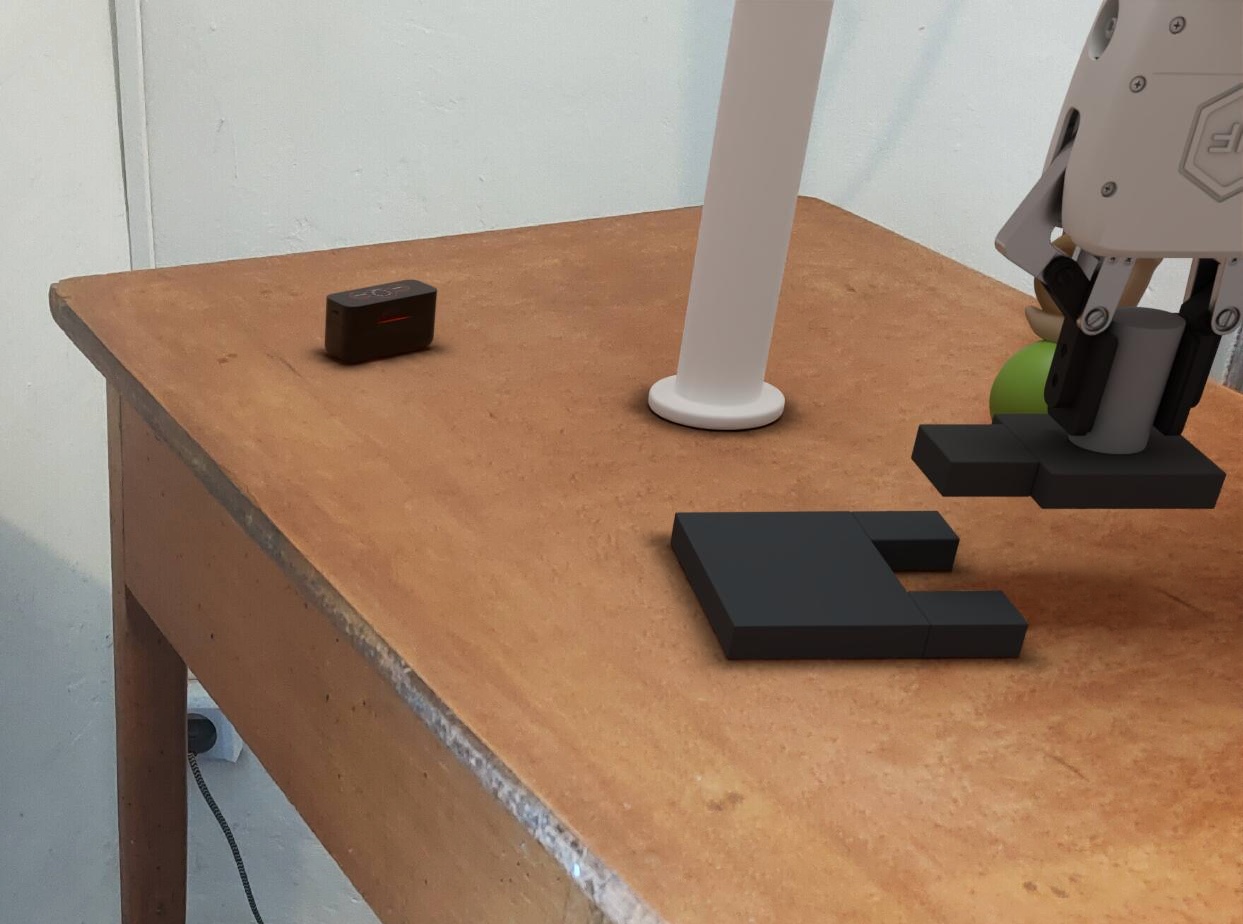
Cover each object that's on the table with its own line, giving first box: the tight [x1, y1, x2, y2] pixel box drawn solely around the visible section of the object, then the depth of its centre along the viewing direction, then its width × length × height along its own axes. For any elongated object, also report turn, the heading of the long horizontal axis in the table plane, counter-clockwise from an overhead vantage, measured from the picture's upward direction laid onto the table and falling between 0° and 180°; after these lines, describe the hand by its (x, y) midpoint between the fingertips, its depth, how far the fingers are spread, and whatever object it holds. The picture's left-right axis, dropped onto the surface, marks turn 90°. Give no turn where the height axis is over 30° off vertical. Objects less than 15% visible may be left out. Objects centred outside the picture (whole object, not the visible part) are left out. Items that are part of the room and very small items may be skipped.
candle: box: [647, 0, 835, 431], centre depth 93 cm, size 7×7×25 cm
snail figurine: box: [988, 233, 1164, 421], centre depth 92 cm, size 5×6×12 cm
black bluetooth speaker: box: [324, 279, 438, 364], centre depth 109 cm, size 5×7×3 cm, turn 119°
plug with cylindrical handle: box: [910, 306, 1227, 510], centre depth 77 cm, size 11×7×6 cm, turn 89°
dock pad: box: [669, 510, 1029, 660], centre depth 82 cm, size 12×12×2 cm
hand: (1113, 420), depth 78 cm, fingers closed on plug with cylindrical handle, 3 cm apart
